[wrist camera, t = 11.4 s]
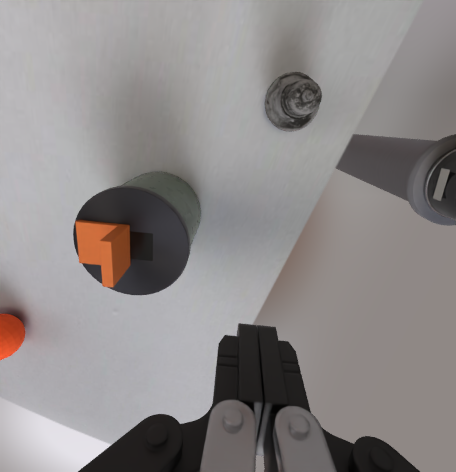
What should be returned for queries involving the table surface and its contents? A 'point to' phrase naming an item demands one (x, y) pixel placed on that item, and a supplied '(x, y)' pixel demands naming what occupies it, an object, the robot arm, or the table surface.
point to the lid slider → (104, 248)
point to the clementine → (10, 335)
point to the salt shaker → (292, 101)
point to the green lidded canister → (148, 229)
